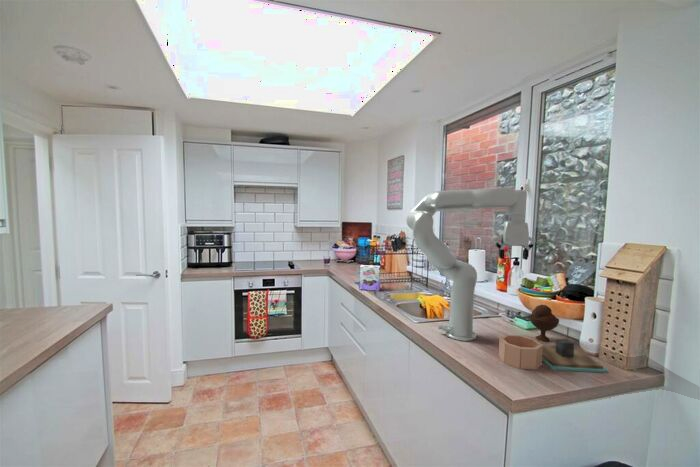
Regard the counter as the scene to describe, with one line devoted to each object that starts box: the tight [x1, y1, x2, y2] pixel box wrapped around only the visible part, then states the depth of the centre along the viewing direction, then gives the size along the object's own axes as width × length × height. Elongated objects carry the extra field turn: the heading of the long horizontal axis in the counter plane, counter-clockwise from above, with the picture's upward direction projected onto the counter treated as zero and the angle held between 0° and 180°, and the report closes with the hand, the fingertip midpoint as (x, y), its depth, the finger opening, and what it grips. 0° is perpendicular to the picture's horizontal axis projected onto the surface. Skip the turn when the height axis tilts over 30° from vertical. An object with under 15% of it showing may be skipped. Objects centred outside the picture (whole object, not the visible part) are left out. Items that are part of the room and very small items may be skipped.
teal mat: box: [542, 357, 609, 374], centre depth 118 cm, size 18×18×1 cm
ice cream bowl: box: [529, 304, 560, 343], centre depth 136 cm, size 11×11×15 cm
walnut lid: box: [542, 338, 604, 369], centre depth 118 cm, size 16×16×6 cm
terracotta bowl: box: [498, 334, 544, 370], centre depth 116 cm, size 13×13×7 cm
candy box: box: [358, 264, 381, 292], centre depth 220 cm, size 14×6×16 cm, turn 80°
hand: (513, 258), depth 139 cm, fingers open, 9 cm apart
